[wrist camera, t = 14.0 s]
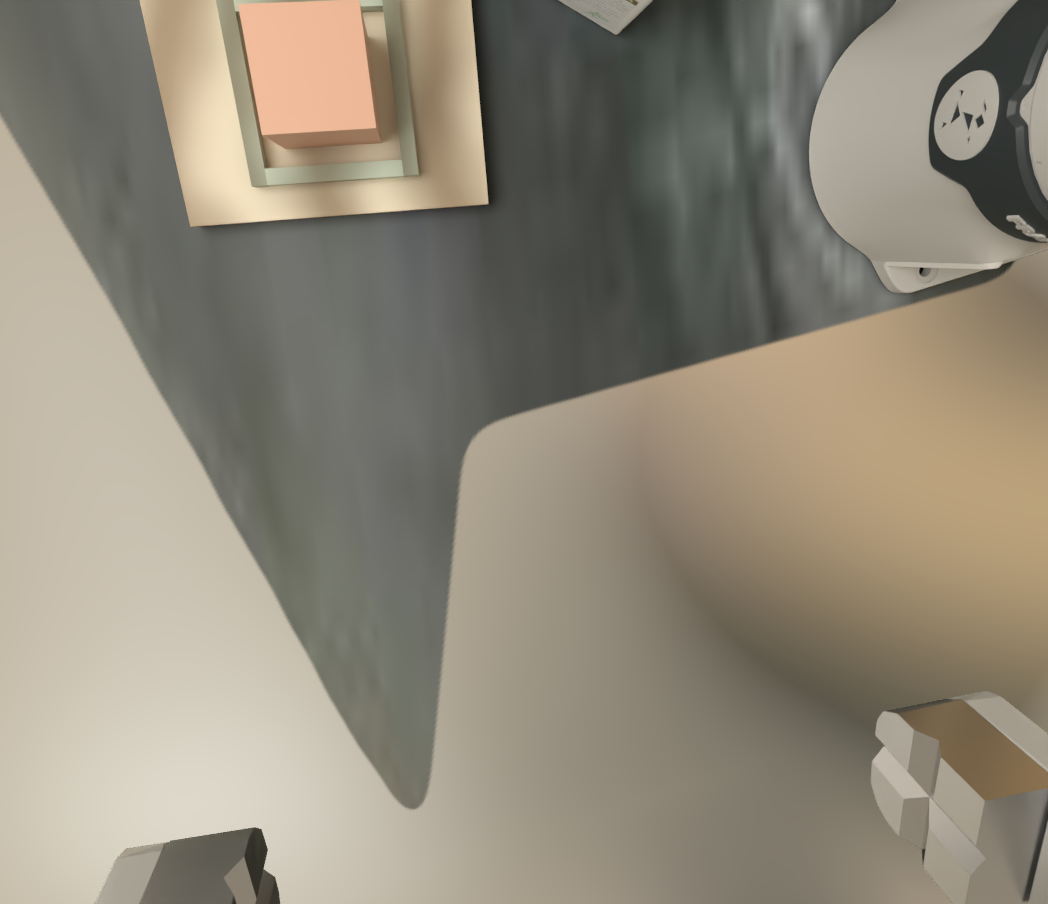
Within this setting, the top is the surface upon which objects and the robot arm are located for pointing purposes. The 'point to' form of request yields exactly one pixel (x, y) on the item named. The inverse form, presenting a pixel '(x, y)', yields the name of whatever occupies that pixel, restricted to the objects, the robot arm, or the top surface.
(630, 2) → the syrup box
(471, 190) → the build board
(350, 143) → the block
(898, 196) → the robot arm
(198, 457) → the top surface
